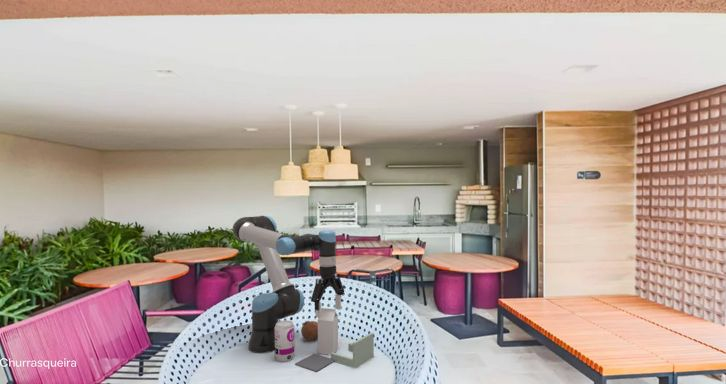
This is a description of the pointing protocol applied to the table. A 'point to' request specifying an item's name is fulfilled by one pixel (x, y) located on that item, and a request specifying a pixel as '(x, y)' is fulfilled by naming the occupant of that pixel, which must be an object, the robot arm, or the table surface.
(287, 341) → the supplement can
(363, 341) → the rack
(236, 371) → the table surface
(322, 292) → the robot arm
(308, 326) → the onion
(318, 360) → the mat
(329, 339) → the milk carton
